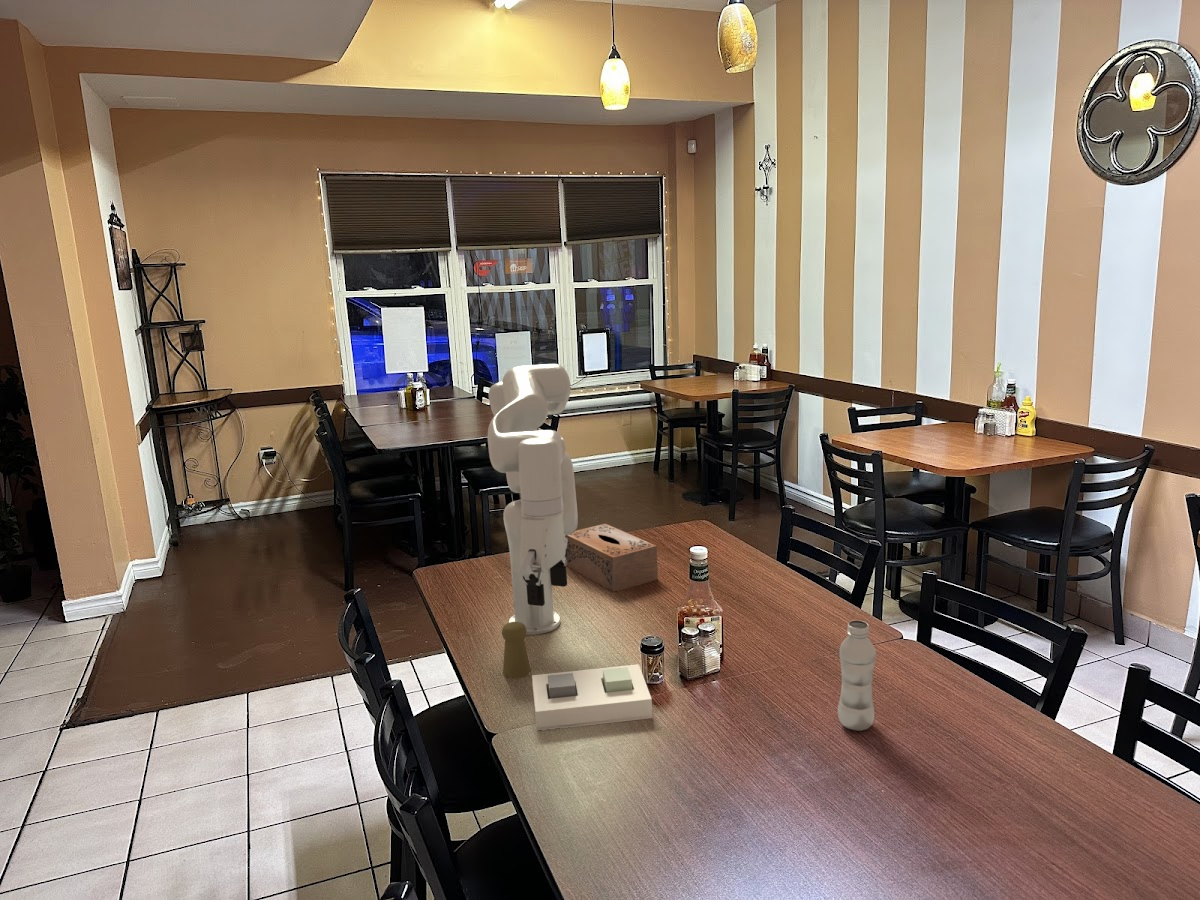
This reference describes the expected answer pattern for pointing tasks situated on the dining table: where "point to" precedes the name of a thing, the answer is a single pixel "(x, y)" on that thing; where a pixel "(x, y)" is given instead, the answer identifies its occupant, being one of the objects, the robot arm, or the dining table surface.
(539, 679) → the key panel
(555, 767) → the dining table surface
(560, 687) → the charcoal key
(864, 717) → the plastic bottle
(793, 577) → the dining table surface
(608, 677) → the sage key
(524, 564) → the robot arm
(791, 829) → the dining table surface
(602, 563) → the tissue box cover
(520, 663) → the brown pawn
